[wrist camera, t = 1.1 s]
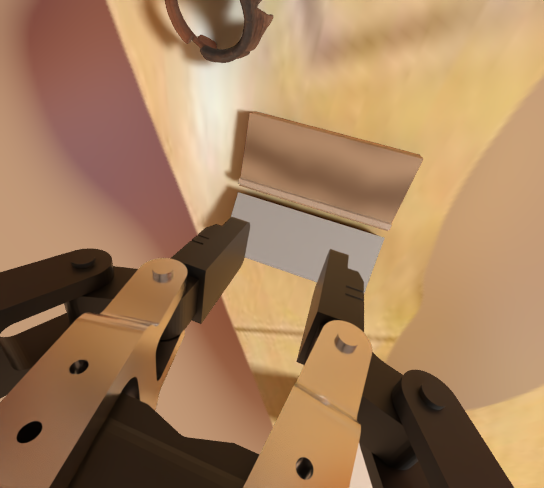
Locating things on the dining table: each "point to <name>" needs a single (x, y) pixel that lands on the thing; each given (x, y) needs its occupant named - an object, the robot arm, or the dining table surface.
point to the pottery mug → (250, 38)
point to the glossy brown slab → (326, 170)
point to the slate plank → (302, 239)
